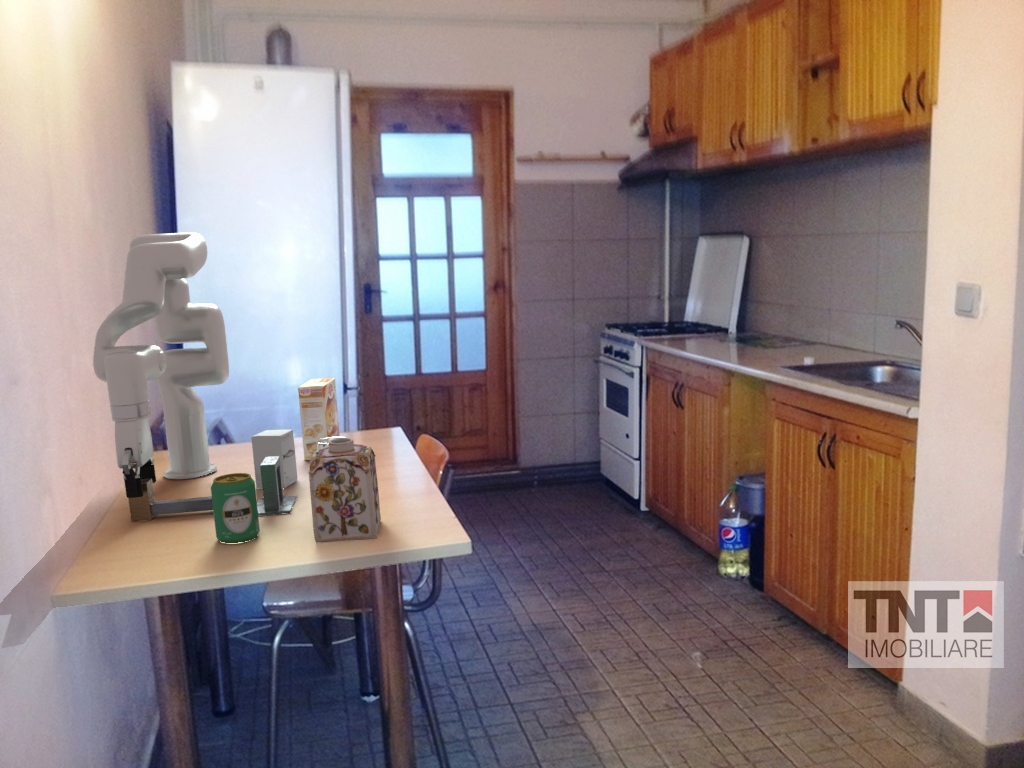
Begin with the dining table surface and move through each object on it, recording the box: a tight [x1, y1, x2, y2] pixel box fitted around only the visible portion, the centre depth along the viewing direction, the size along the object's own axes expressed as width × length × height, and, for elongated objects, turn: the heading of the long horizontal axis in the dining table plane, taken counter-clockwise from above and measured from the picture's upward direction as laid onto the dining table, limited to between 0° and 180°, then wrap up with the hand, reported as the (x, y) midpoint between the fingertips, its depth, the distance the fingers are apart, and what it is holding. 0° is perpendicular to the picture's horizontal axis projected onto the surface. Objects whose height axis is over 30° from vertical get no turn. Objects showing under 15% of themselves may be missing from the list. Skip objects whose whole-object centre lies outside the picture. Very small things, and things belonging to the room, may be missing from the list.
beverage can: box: [210, 472, 261, 543], centre depth 169 cm, size 8×8×12 cm
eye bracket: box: [257, 456, 298, 516], centre depth 190 cm, size 12×8×10 cm, turn 7°
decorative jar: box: [307, 437, 382, 543], centre depth 169 cm, size 12×12×18 cm
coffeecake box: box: [297, 377, 341, 461], centre depth 238 cm, size 15×7×20 cm, turn 179°
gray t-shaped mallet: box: [128, 478, 213, 523], centre depth 188 cm, size 4×24×8 cm, turn 97°
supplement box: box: [251, 429, 298, 489], centre depth 208 cm, size 7×7×13 cm
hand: (142, 489), depth 187 cm, fingers open, 9 cm apart
